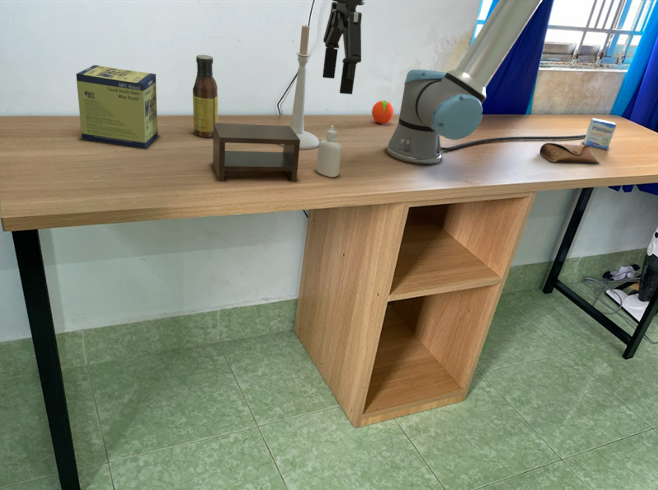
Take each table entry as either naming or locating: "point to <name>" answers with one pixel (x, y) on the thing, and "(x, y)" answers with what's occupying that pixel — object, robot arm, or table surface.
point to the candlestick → (302, 96)
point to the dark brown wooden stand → (251, 158)
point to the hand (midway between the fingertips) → (336, 85)
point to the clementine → (382, 112)
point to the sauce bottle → (205, 97)
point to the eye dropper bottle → (329, 155)
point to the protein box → (117, 106)
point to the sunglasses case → (567, 153)
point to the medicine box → (599, 133)
